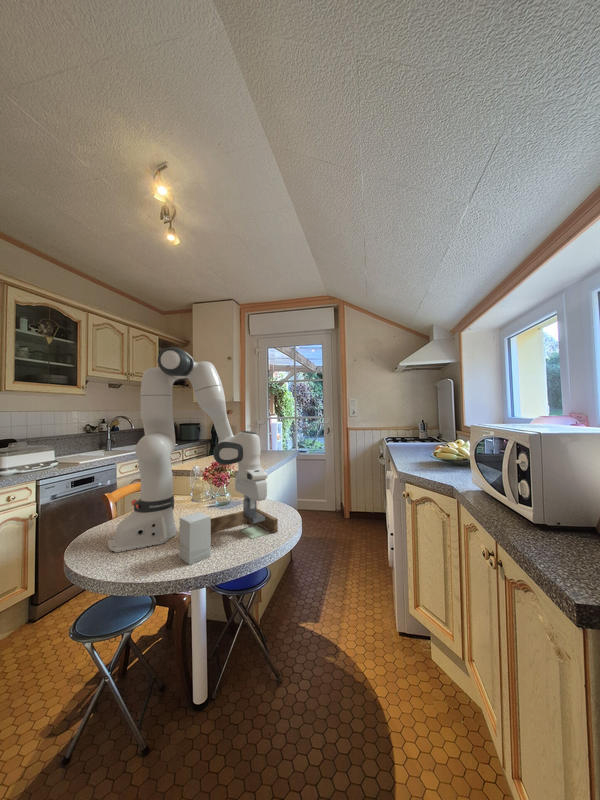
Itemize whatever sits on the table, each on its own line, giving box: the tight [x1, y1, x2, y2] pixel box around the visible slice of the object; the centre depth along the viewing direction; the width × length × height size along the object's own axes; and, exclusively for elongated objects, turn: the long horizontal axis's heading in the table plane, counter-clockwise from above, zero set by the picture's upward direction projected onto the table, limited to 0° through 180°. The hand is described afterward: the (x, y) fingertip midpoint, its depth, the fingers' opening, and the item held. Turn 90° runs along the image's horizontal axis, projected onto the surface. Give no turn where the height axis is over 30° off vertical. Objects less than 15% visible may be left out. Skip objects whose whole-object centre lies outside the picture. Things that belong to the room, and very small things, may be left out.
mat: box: [239, 524, 269, 540], centre depth 111 cm, size 7×10×1 cm
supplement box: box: [179, 511, 212, 565], centre depth 92 cm, size 7×7×13 cm
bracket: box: [242, 497, 265, 524], centre depth 111 cm, size 8×5×7 cm, turn 38°
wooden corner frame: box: [211, 508, 279, 534], centre depth 111 cm, size 22×17×5 cm
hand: (249, 507), depth 114 cm, fingers closed on bracket
